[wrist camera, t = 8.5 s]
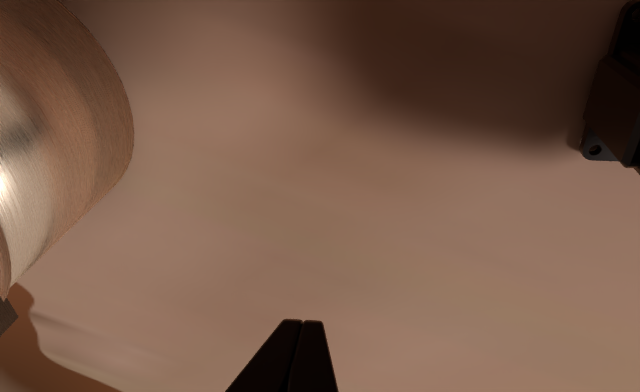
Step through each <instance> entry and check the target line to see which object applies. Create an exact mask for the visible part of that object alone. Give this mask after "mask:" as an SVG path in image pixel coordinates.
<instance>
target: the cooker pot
mask: <svg viewBox="0 0 640 392" xmlns="http://www.w3.org/2000/svg"><path fill="white" fill-rule="evenodd" d="M133 146H134V127H133V117H132V113H131V109H130V105H129V101H128V98H127V95H126V92H125V90H124V87H123V84H122V82H121V80H120V78H119V76H118V74H117V72H116V70H115V68H114V66H113V65H112V63H111V61H110V60H109V58H108V57H107V55H106V53H105V52H104V50H103V49H102V47H101V46H100V45H99V44H98V42H97V41H96V40H95V38H94V37H93V36H92V34H91V33H90V32H89V31H88V30H87V29H86V28H85V26H84V25H83V24H82V23H81V22H80V21H79V20H78V19H77V18H76V17H75V16H74V15H73V14H72V13H71V12H70V11H69V10H67V9H66V8H65V7H64V6H63V5H62V4H61V3H60V2H58V1H57V0H0V225H1V228H2V231H3V233H4V236H5V239H6V242H7V245H8V249H9V254H10V260H11V283H10V287H11V286H12V285H13V284H14V283H15V282H16V281H17V280H18V279H19V278H20V277H21V276H22V275H23V274H24V273H25V272H26V271H27V270H28V269H29V268H31V267H32V266H33V265H34V264H35V263H36V262H37V261H38V260H39V259H40V258H41V257H42V256H43V255H44V254H45V253H46V252H47V251H48V250H49V249H50V248H51V247H52V246H53V245H54V244H55V243H56V242H57V241H58V240H59V239H60V238H61V237H62V236H63V235H65V234H66V233H67V232H68V231H69V230H70V229H71V228H72V227H73V226H74V225H75V224H76V223H77V222H78V221H79V220H80V219H81V218H82V217H83V216H84V215H85V214H86V213H87V212H88V211H89V210H90V209H91V208H92V207H93V206H94V205H95V204H96V203H98V202H99V201H100V200H101V199H102V198H103V197H104V196H105V195H106V194H107V193H108V192H109V191H110V190H111V189H112V188H113V187H114V186H115V185H116V184H117V183H118V182H119V180H120V179H121V178H122V176H123V175H124V173H125V172H126V170H127V168H128V165H129V163H130V160H131V156H132V151H133ZM4 303H5V305H6V306H7V308H8V309H9V311H10V312H11V313H10V314H9V315H8V316H7V317H6V318H5V319H4V320H3V321H2V322H1V323H0V336H1V335H2V334H3V333H4V332H5V331H6V330H7V329H8V328H9V326H11V324H12V323H13V322H14V321H15V320H16V319H17V318H18V315H17V314H16V312H15V311H14V309H13V307H12V306H11V304H10V302H9V301H8V299H7V298H5V300H4Z"/></svg>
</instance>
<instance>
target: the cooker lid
mask: <svg viewBox="0 0 640 392" xmlns="http://www.w3.org/2000/svg"><path fill="white" fill-rule="evenodd" d="M10 283H11V260H10V254H9V249H8V245H7V242H6V239H5V236H4V233H3V231H2V228H1V225H0V323H1V322H2V321H3V320H4V319H5V318H6V317H7V316H8V315H9V314H10V313H11V312H10V311H9V309H8V308H7V306H6V305H5V303H4V300H5V298H6V296H7V294H8V292H9V288H10Z"/></svg>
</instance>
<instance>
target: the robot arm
mask: <svg viewBox="0 0 640 392" xmlns="http://www.w3.org/2000/svg"><path fill="white" fill-rule="evenodd" d="M638 8H640V0H632V1H630V2H628V3H627V4H626V5H625V6H624V7H623V8H622V10H621V12H620V15H619V19H618V22H617V25H616V28H615V32H614V35H613V38H612V41H611V45H610V48H609V51H608V55H606V56H605V57H603V58H602V59H601V60H600V61H599V64H598V68H597V71H596V75H595V78H594V81H593V85H592V88H591V91H590V95H589V98H588V101H587V105H586V108H585V111H584V115H583V119H584V120H585V122H586V127H585V130H584V133H583V136H582V140H581V143H580V148H579V150H580V152H581V154H582V155H583V156H584V157H585V158H586V159H588V160H596V161H619V162H620V163H621V164H622V165H623V166H624V167H625V168H634V169H635V170H636V171H637V172H638V174H639V175H640V17H639V18H637V19H635V20H632V14H633V12H634V11H635V10H636V9H638ZM593 145H598V147H597V149H596V150H594V151H589V149H590V147H592V146H593ZM225 392H339V391H338V387H337V383H336V378H335V374H334V369H333V365H332V361H331V356H330V352H329V347H328V343H327V338H326V334H325V330H324V325H323V323H322V321H316V320H305V321H304V322H303V321H302V320H298V319H284V320H283V321H282V322H281V323H280V324H279V325H278V327H277V328H276V329H275V330H274V332H273V333H272V334H271V335H270V337H269V338H268V339H267V340H266V341H265V343H264V344H263V345H262V346H261V348H260V349H259V350H258V351H257V353H256V354H255V355H254V356H253V358H252V359H251V360H250V361H249V363H248V364H247V365H246V366H245V368H244V369H243V370H242V371H241V372H240V374H239V375H238V376H237V377H236V379H235V380H234V381H233V382H232V384H231V385H230V386H229V387H228V389H227V390H226V391H225Z"/></svg>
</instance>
